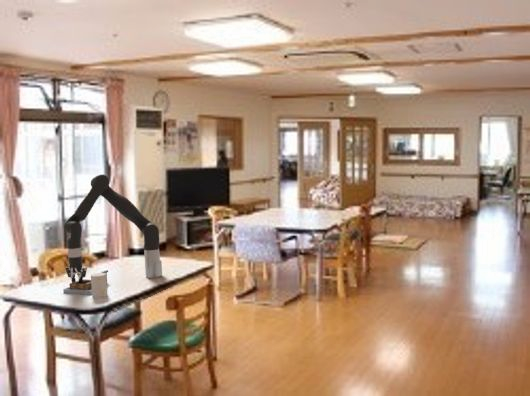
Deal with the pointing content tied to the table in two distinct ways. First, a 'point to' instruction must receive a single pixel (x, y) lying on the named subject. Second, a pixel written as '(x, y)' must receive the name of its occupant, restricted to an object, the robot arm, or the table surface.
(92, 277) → the cup
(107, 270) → the stake
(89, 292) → the tray
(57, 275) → the table surface
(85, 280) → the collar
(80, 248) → the robot arm
